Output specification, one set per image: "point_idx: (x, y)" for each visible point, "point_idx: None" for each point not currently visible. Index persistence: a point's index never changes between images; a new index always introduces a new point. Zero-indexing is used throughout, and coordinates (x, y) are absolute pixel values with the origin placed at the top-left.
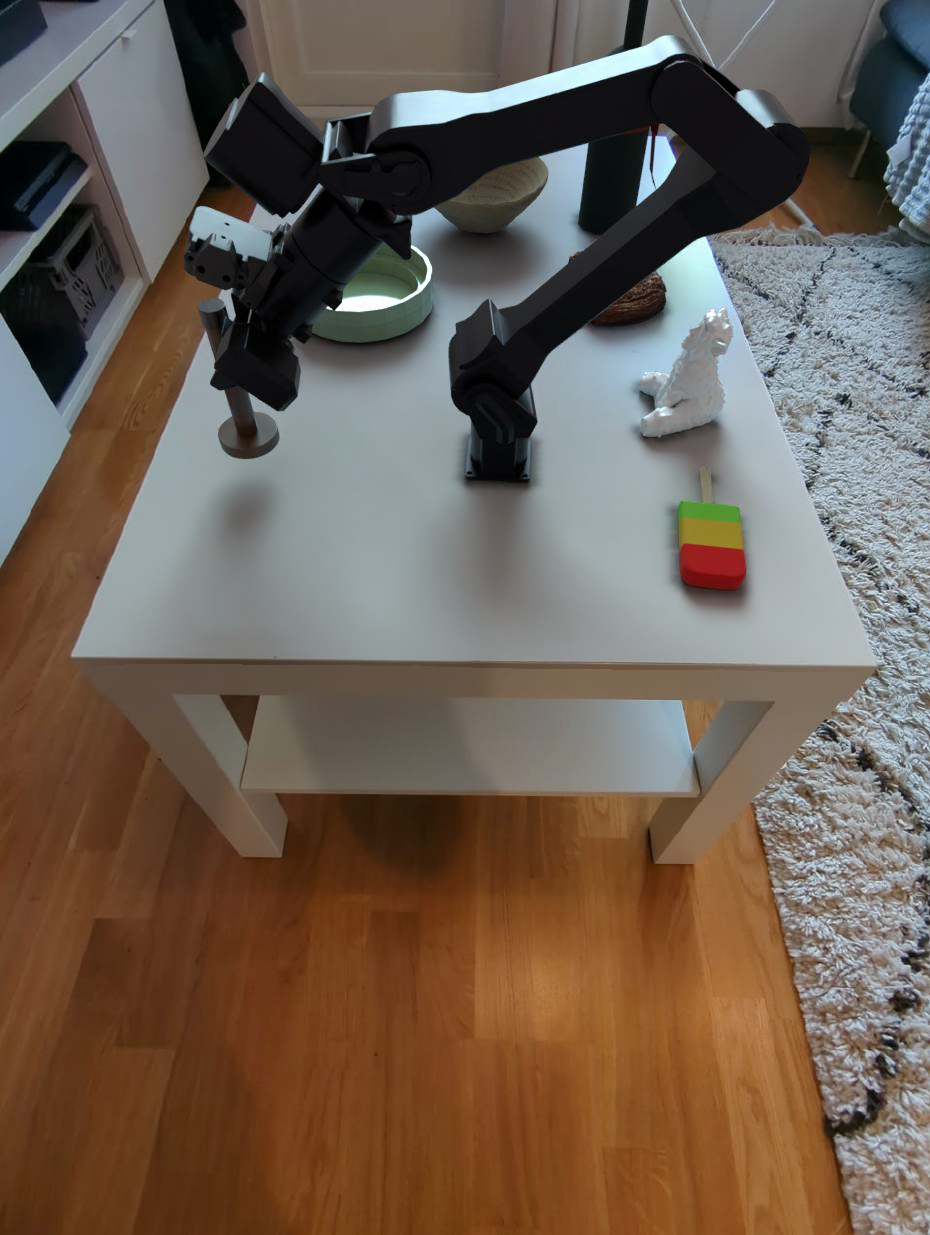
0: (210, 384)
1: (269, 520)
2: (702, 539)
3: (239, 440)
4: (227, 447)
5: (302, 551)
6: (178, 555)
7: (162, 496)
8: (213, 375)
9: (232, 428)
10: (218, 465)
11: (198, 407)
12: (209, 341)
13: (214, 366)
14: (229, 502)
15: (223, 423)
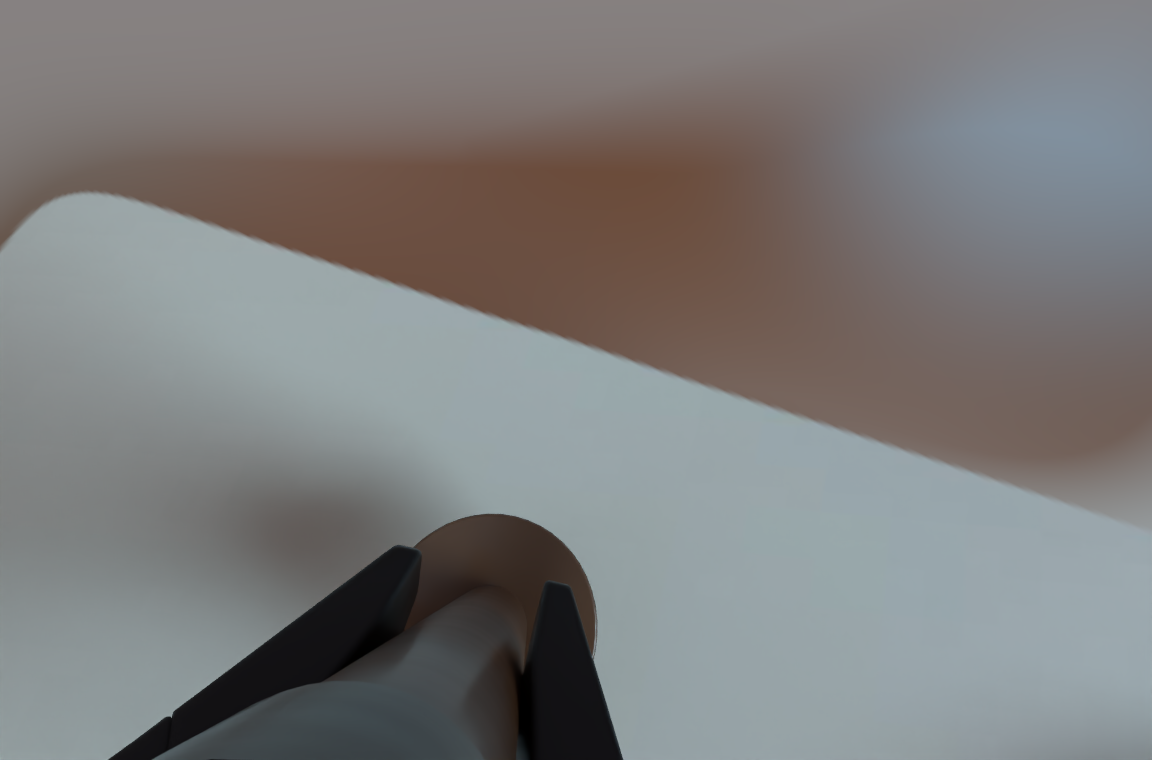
0: (399, 546)
1: (267, 616)
2: None
3: (437, 590)
4: (420, 541)
5: (92, 704)
6: (244, 367)
7: (470, 345)
8: (363, 585)
9: (513, 570)
10: (547, 491)
11: (807, 457)
12: (364, 660)
13: (545, 586)
14: (386, 508)
15: (552, 539)
